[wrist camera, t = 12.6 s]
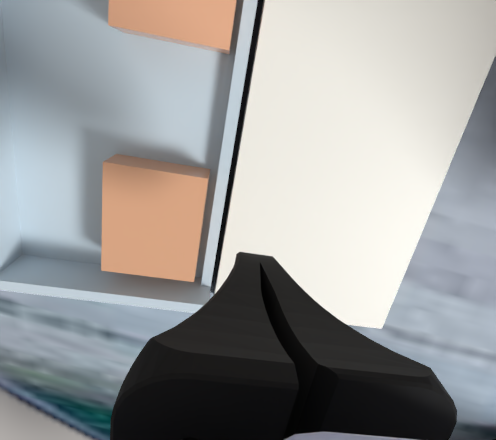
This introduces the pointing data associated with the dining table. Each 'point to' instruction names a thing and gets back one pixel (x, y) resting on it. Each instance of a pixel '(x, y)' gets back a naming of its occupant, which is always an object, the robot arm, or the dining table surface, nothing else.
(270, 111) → the cream plate
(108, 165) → the terracotta tile
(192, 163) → the tray
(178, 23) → the terracotta tile
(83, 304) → the dining table surface
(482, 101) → the dining table surface
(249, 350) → the robot arm
